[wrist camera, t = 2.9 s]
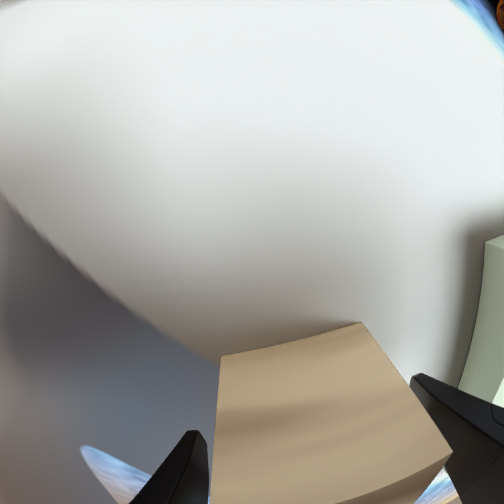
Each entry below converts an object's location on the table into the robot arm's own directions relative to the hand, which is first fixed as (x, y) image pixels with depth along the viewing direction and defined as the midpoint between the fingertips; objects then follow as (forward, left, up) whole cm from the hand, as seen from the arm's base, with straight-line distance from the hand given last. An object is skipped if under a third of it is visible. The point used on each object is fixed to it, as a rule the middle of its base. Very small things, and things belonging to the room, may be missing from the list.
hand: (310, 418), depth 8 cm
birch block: (0, 0, -2) cm, 2 cm away
